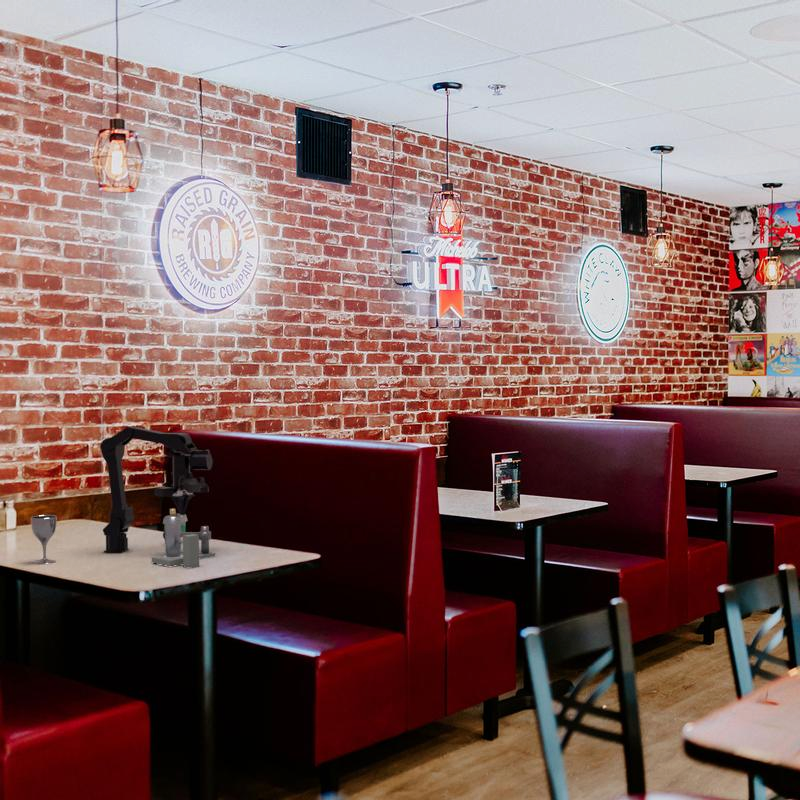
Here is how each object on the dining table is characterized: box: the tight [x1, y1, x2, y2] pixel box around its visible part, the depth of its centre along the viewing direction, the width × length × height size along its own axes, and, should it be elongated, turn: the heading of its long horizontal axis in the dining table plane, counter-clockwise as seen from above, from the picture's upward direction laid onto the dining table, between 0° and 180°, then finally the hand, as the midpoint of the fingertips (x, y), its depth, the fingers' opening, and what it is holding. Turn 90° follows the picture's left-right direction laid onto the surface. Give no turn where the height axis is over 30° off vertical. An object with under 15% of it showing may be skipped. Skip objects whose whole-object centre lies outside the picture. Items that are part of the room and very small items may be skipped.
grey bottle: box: [164, 508, 182, 558], centre depth 324 cm, size 5×5×15 cm
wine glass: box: [30, 514, 58, 565], centre depth 328 cm, size 8×8×15 cm
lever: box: [162, 525, 212, 553], centre depth 337 cm, size 17×4×9 cm, turn 81°
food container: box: [162, 513, 188, 545], centre depth 364 cm, size 12×6×10 cm, turn 168°
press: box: [151, 534, 217, 568], centre depth 326 cm, size 16×22×10 cm
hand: (182, 515), depth 343 cm, fingers closed
